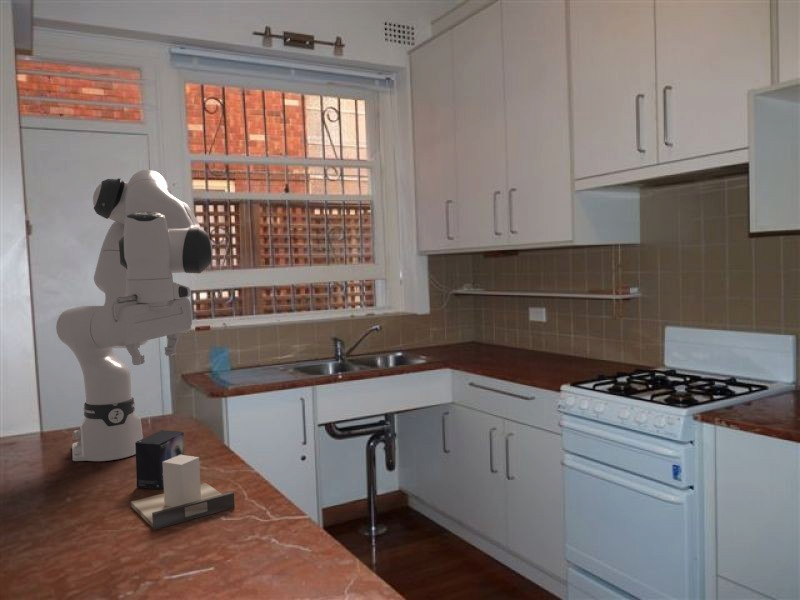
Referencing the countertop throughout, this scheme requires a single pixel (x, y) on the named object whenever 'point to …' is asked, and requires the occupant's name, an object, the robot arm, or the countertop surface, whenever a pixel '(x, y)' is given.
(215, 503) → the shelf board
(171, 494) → the carton
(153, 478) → the small box
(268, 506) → the countertop surface
